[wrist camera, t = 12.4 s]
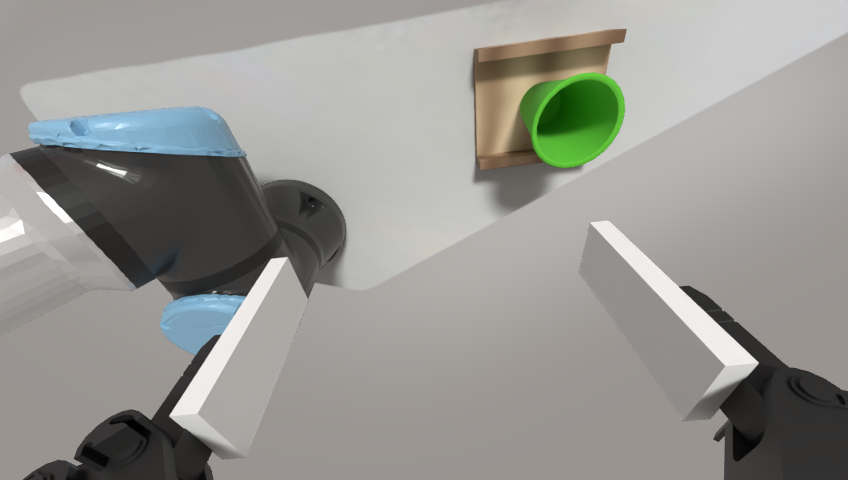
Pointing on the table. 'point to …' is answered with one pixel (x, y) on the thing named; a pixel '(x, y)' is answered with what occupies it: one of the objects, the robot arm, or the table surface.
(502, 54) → the wooden tray
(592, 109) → the cup
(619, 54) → the table surface
